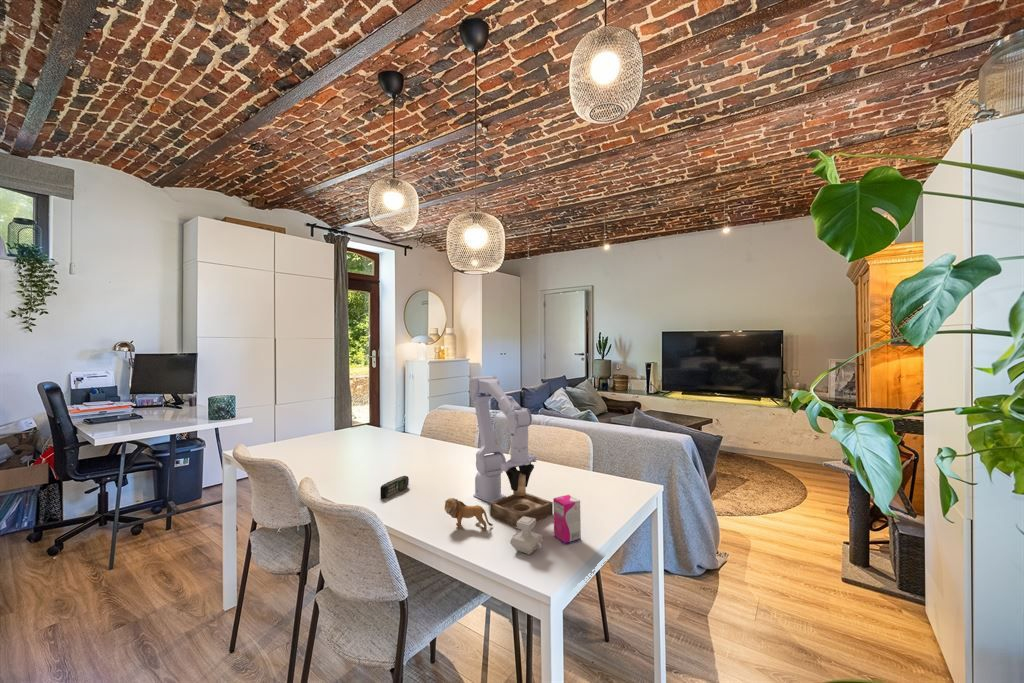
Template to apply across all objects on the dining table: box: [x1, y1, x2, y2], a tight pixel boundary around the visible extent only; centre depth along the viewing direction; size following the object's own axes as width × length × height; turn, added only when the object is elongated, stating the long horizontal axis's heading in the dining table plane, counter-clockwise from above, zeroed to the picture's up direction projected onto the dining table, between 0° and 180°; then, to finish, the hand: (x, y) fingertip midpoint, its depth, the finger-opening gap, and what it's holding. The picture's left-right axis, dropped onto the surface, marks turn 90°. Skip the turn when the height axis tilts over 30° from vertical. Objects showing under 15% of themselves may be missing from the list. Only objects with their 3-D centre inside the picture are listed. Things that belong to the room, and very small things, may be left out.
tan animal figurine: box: [444, 497, 493, 531], centre depth 126 cm, size 15×5×9 cm, turn 92°
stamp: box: [509, 516, 543, 555], centre depth 112 cm, size 9×7×8 cm
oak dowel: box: [512, 473, 527, 496], centre depth 133 cm, size 4×4×6 cm
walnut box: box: [489, 492, 554, 529], centre depth 134 cm, size 14×15×4 cm
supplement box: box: [552, 494, 582, 545], centre depth 119 cm, size 6×6×12 cm
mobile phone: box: [379, 475, 410, 500], centre depth 155 cm, size 5×3×15 cm
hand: (519, 488), depth 133 cm, fingers closed on oak dowel, 4 cm apart
